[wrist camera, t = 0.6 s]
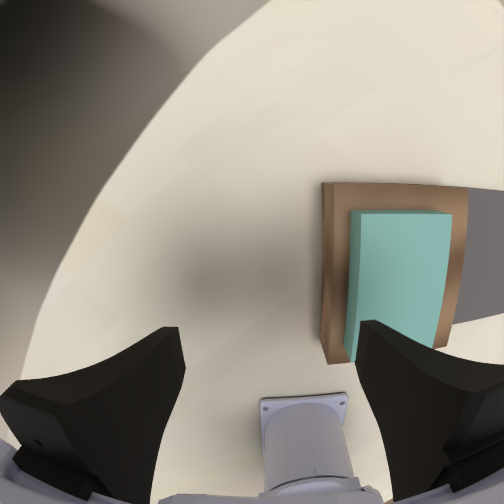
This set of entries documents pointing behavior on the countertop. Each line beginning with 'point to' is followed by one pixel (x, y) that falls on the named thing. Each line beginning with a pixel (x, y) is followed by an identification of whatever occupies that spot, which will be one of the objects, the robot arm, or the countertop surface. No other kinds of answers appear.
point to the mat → (482, 257)
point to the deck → (338, 249)
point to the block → (397, 272)
